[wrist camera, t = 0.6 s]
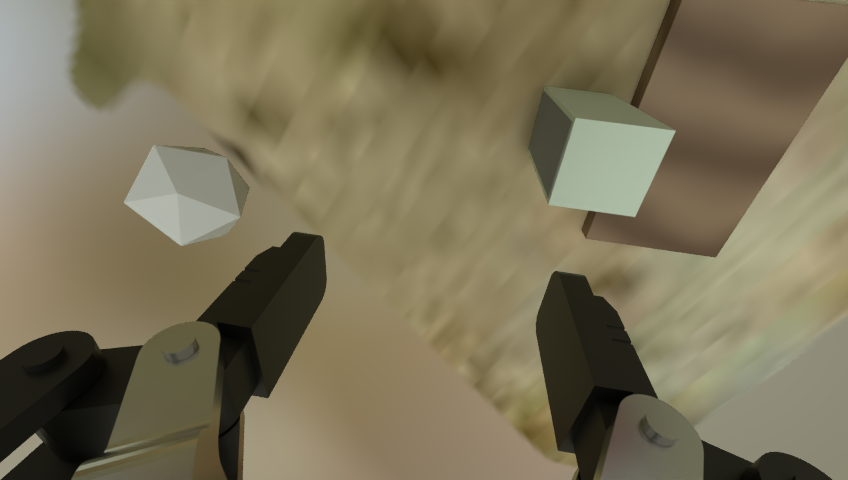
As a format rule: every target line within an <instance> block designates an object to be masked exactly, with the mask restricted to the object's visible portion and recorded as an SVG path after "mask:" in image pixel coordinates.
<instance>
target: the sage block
mask: <svg viewBox="0 0 848 480" xmlns="http://www.w3.org/2000/svg"><path fill="white" fill-rule="evenodd" d="M675 132H676V130H674V129H672V128H670V127H669V126H667V125H665V124H663V123H662V122H660V121H658V120H656V119H655V118H653V117H651V116H650V115H648V114H646V113H644V112H643V111H641V110H639V109H637V108H636V107H634V106H632V105H630V104H629V103H627V102H625V101H623V100H622V99H620V98H618V97H617V96H615V95H613V94H606V93H598V92H590V91H581V90H573V89H565V88H557V87H549V86H545V87H544V91H543V95H542V99H541V103H540V106H539V110H538V114H537V118H536V122H535V126H534V130H533V133H532V137H531V141H530V145H529V149H528V152H529V155H530V158H531V160H532V163H533V166H534V168H535V171H536V173H537V176H538V179H539V181H540V184H541V187H542V189H543V192H544V195H545V197H546V200H547V203H548V205H553V206H560V207H567V208H575V209H582V210H589V211H596V212H603V213H610V214H617V215H624V216H632V217H635V216H636V214H637V212H638V210H639V208H640V206H641V203H642V201H643V199H644V197H645V195H646V193H647V191H648V189H649V187H650V184H651V182H652V180H653V178H654V176H655V174H656V172H657V170H658V168H659V165H660V163H661V161H662V159H663V157H664V155H665V153H666V151H667V148H668V146H669V144H670V142H671V140H672V138H673V136H674V134H675Z"/></svg>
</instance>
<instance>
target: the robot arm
mask: <svg viewBox="0 0 848 480" xmlns="http://www.w3.org/2000/svg"><path fill="white" fill-rule="evenodd" d="M326 280H327V278H326V263H325V249H324V240H323V237H322V236H320V235H313V234H306V233H300V232H294V233H292V234H291V235H290V236H289V238H288V239H287V240H286V241H285V242H284V243H283V245H282V246H281V247H271V248H269V249H268V250H266V251H264V252H262V253H260V254H259V255H257V256H256V257H255V258H254V259H253V260H252V261H251V262H250V263H249V264H248V265H247V266H246V267H245V270H244V271H242V272H241V273H240V274H239V275H238V276H237V277H236V279H235V281H233V282H232V283H231V284H230V285H229V286H228V287H227V288H226V289H225V290H224V291H223V292H222V293H221V295H220V296H219V297H218V298H217V299H216V300H215V301H214V302H213V303H212V304H211V305H210V307H209V308H208V309H207V310H206V311H205V312H204V313H203V314H202V315H201V316H200V317H199V318H198V319H197V321H192V322H185V323H180V324H177V325H174V326H171V327H169V328H167V329H164V330H162V331H161V332H159V333H157V334H156V335H154V336H153V337H152V338H151V339H149V340H148V341H147V342H146V343H145V344H144V345H142V346H131V347H120V348H111V349H99V347H98V345H97V343H96V342H95V340H94V339H93V337H92V336H91V335H90V334H88V333H85V332H81V331H64V332H59V333H54V334H50V335H47V336H44V337H41V338H38V339H36V340H33V341H31V342H29V343H27V344H25V345H23V346H21V347H20V348H18V349H16V350H15V351H13V352H12V353H10V354H9V355H7V356H6V357H4V358H3V359H1V360H0V462H1V461H3V460H4V459H5V458H6V457H7V456H9V455H10V454H11V453H12V452H13V451H14V450H16V448H18V447H19V446H20V445H21V444H22V443H24V442H25V441H26V440H27V439H28V438H29V437H30V436H32V435H33V434H34V433H36V434H37V435H38V437H39V438H40V439H41V440H42V441H43V443H42V444H41V445H39V446H38V447H37V448H36V449H35V450H34V451H33V452H31V453H30V454H29V455H28V456H27V457H26V458H25V459H24V460H22V461H21V462H20V463H19V464H18V465H17V466H16V467H15V468H14V469H12V470H11V471H10V472H9V473H8V474H7V475H6V476H4V477H3V478H2V479H1V480H243V454H244V453H243V452H244V423H245V415H244V410H243V409H244V407H245V405H246V404H247V402H248V401H249V399H250V397H251V396H252V395H253V396H259V397H264V398H268V397H269V396H270V394H271V392H272V390H273V388H274V387H275V385H276V383H277V381H278V379H279V377H280V376H281V374H282V372H283V370H284V368H285V366H286V365H287V363H288V361H289V359H290V357H291V356H292V354H293V351H294V350H295V348H296V346H297V345H298V343H299V341H300V339H301V337H302V335H303V334H304V332H305V330H306V328H307V326H308V324H309V323H310V321H311V319H312V317H313V315H314V313H315V312H316V310H317V308H318V306H319V304H320V303H321V301H322V299H323V296H324V293H325V289H326ZM536 335H537V340H538V346H539V351H540V357H541V362H542V367H543V373H544V378H545V384H546V389H547V394H548V400H549V405H550V410H551V416H552V421H553V427H554V432H555V437H556V443H557V448H558V451H564V452H569V453H575V455H576V459H577V463H578V468H577V470H576V472H575V473H574V476H573V478H572V480H832V479H831V478H830V477H828V476H827V475H826V474H824V473H823V472H821V471H820V470H819V469H817V468H816V467H814V466H812V465H811V464H809V463H807V462H805V461H803V460H801V459H799V458H797V457H794V456H792V455H789V454H785V453H780V452H769V453H765V454H764V455H762V456H761V457H760V458H759V459H758V460H756V461H755V462H754V463H751V462H749V461H747V460H745V459H743V458H740V457H738V456H736V455H733V454H731V453H729V452H727V451H724V450H722V449H720V448H718V447H715V446H713V445H711V444H709V443H707V442H705V441H703V440H701V439H700V437H699V435H698V433H697V432H696V430H695V429H694V427H693V426H692V425H691V423H690V422H689V421H688V420H687V419H686V418H685V417H684V416H683V415H682V414H681V413H680V412H678V411H677V410H676V409H675V408H673V407H672V406H670V405H669V404H667V403H665V402H664V401H661V400H659V399H658V397H657V395H656V393H655V391H654V389H653V387H652V385H651V382H650V380H649V378H648V376H647V374H646V372H645V370H644V368H643V366H642V363H641V361H640V359H639V357H638V355H637V353H636V351H635V349H634V347H633V345H631V340H630V338H629V336H628V334H627V332H626V331H624V325H623V323H622V321H621V319H620V317H619V315H618V313H617V311H616V310H615V309H614V308H613V307H612V306H611V305H610V304H609V303H608V302H607V301H606V300H605V299H604V298H603V297H600V296H594V295H593V293H592V290H591V288H590V286H589V283H588V281H587V278H586V277H585V276H584V275H579V274H572V273H566V272H559V271H555V272H554V273H553V274H552V276H551V278H550V281H549V284H548V286H547V289H546V292H545V295H544V297H543V300H542V303H541V306H540V308H539V311H538V315H537V321H536Z"/></svg>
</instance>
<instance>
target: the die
mask: <svg viewBox="0 0 848 480" xmlns="http://www.w3.org/2000/svg"><path fill="white" fill-rule="evenodd" d="M248 190H249V187H248V185H247V184H246V183H245V181H244V180H243V179H242V177H241V176H240V175H239V173H238V172H237V171H236V170H235V168H234V167H233V166H232V164H231V163H230V162H229V160H228V159H227V158H226V157H224V156H221V155H219V154H217V153H214V152H212V151H210V150H207V149H205V148H193V147H179V146H178V147H177V146H164V145H154V146H153V148H152V149H151V151H150V153H149V155H148V157H147V159H146V161H145V163H144V165H143V167H142V169H141V170H140V173H139V175H138V176H137V178H136V180H135V182H134V184H133V186H132V188H131V190H130V192H129V193H128V195H127V197H126V199H125V201H124V203H125V204H126V205H128V206H129V207H130V208H132V209H133V210H134V211H136V212H137V213H138V214H140V215H141V216H142V217H144V218H145V219H146V220H148V221H149V222H150V223H152V224H153V225H154V226H156V227H157V228H158V229H160V230H161V231H162V232H163V233H165V234H166V235H168V236H169V237H170V238H171V239H173V240H174V241H175V242H177V243H178V244H179V245H181V246H183V245H187V244H191V243H195V242H199V241H203V240H207V239H211V238H215V237H219V236H223V235H226V234H227V233H228V231H229V230H230V229H231V228H232V227H233V225H234V224H235V223H236V222H237V221H238V219H239V218H240V217H241V214H242V210H243V207H244V204H245V200H246V197H247V194H248Z"/></svg>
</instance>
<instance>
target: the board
mask: <svg viewBox="0 0 848 480" xmlns="http://www.w3.org/2000/svg"><path fill="white" fill-rule="evenodd" d="M847 57H848V5H841V4H831V3H822V2H812V1H803V0H671V2H670V5H669V7H668V10H667V13H666V15H665V18H664V20H663V23H662V25H661V28H660V31H659V33H658V36H657V38H656V41H655V43H654V46H653V48H652V51H651V54H650V56H649V59H648V61H647V64H646V66H645V69H644V72H643V74H642V77H641V79H640V82H639V84H638V87H637V90H636V92H635V95H634V97H633V100H632V102H631V105H632V106H634V107H636V108H637V109H639V110H641V111H643V112H644V113H646V114H648V115H650V116H651V117H653V118H655V119H656V120H658V121H660V122H662V123H663V124H665V125H667V126H669V127H670V128H672V129H674V130H676V132H675V134H674V136H673V138H672V140H671V142H670V144H669V146H668V148H667V151H666V153H665V155H664V157H663V159H662V161H661V163H660V165H659V168H658V170H657V172H656V174H655V176H654V178H653V180H652V182H651V184H650V187H649V189H648V191H647V193H646V195H645V197H644V199H643V201H642V203H641V206H640V208H639V210H638V212H637V214H636V216H635V217H632V216H624V215H617V214H610V213H603V212H596V211H589V213H588V215H587V218H586V220H585V223H584V225H583V228H582V231H583V234H584V236H585V238H586V239H592V240H599V241H606V242H613V243H620V244H627V245H634V246H641V247H647V248H654V249H661V250H668V251H675V252H682V253H689V254H696V255H703V256H710V257H716V256H717V255H718V253H719V252H720V250H721V249H722V247H723V246H724V244H725V243H726V241H727V240H728V238H729V237H730V235H731V234H732V232H733V231H734V229H735V227H736V226H737V224H738V223H739V221H740V220H741V218H742V217H743V215H744V214H745V212H746V211H747V209H748V208H749V206H750V205H751V203H752V202H753V200H754V199H755V197H756V196H757V194H758V193H759V191H760V190H761V188H762V187H763V185H764V183H765V182H766V180H767V179H768V177H769V176H770V174H771V173H772V171H773V170H774V168H775V167H776V165H777V164H778V162H779V161H780V159H781V158H782V156H783V155H784V153H785V152H786V150H787V149H788V147H789V146H790V144H791V142H792V141H793V139H794V138H795V136H796V135H797V133H798V132H799V130H800V129H801V127H802V126H803V124H804V123H805V121H806V120H807V118H808V117H809V115H810V114H811V112H812V111H813V109H814V108H815V106H816V105H817V103H818V102H819V100H820V98H821V97H822V95H823V94H824V92H825V91H826V89H827V88H828V86H829V85H830V83H831V82H832V80H833V79H834V77H835V76H836V74H837V73H838V71H839V70H840V68H841V67H842V65H843V64H844V62H845V61H846V59H847Z"/></svg>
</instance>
